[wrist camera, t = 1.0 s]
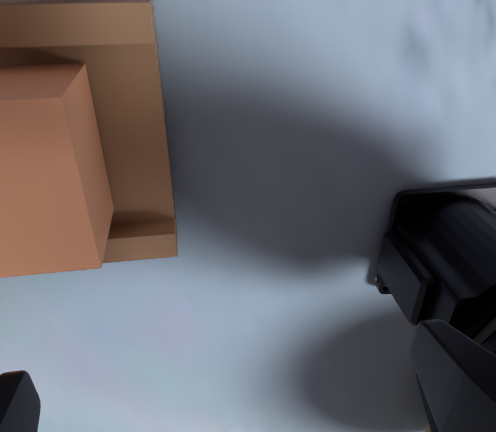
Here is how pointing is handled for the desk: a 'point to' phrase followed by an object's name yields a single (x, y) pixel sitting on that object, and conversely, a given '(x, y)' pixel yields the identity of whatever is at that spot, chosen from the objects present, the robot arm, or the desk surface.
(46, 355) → the desk surface
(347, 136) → the desk surface
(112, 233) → the channel
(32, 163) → the block
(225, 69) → the desk surface
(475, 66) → the desk surface
